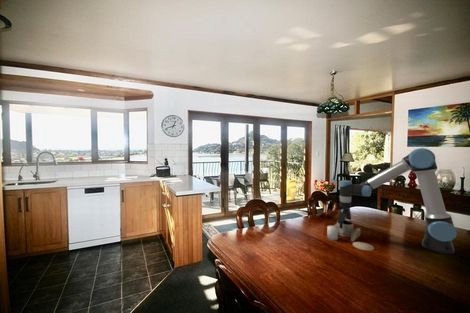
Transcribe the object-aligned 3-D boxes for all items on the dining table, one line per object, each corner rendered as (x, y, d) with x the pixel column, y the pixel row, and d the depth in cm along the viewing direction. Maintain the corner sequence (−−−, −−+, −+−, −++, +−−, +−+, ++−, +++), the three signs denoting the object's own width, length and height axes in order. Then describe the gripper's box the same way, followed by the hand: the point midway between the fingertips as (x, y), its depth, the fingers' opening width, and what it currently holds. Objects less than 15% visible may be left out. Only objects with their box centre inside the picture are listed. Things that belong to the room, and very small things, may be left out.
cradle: (360, 235, 155) (360, 228, 155) (354, 241, 146) (354, 233, 145) (336, 229, 167) (336, 223, 167) (329, 234, 157) (329, 227, 157)
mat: (376, 246, 137) (376, 245, 137) (371, 252, 129) (371, 252, 129) (355, 241, 146) (355, 240, 146) (350, 246, 137) (350, 245, 137)
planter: (351, 239, 149) (352, 225, 148) (335, 235, 155) (335, 222, 155) (354, 234, 157) (354, 221, 157) (338, 231, 164) (338, 218, 164)
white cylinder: (339, 238, 150) (339, 227, 150) (335, 241, 145) (335, 229, 145) (329, 235, 155) (329, 224, 155) (325, 238, 150) (325, 227, 150)
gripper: (345, 198, 167) (344, 224, 168) (333, 203, 150) (332, 233, 150) (356, 199, 162) (355, 227, 162) (344, 205, 144) (344, 236, 145)
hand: (344, 230), depth 156 cm, fingers open, 13 cm apart
